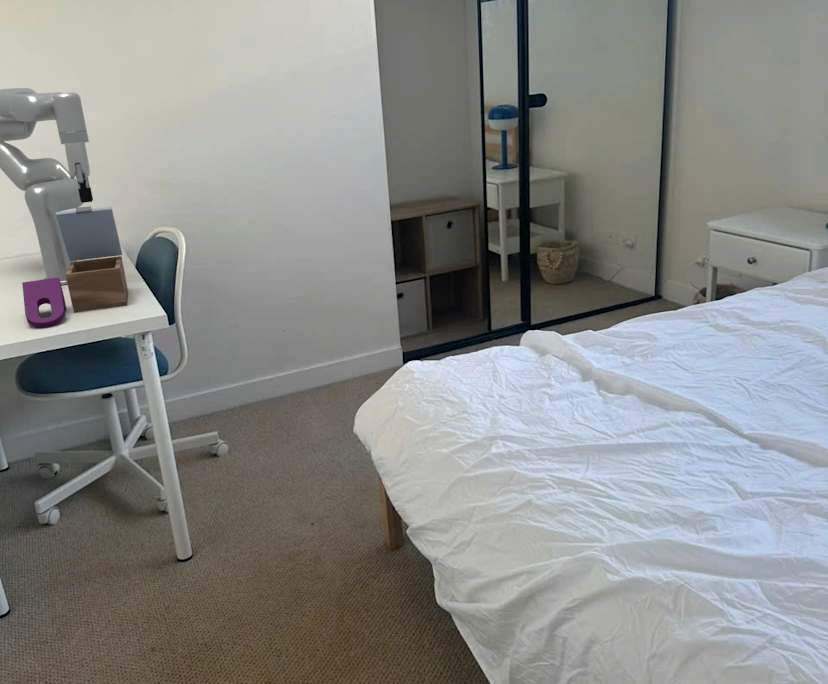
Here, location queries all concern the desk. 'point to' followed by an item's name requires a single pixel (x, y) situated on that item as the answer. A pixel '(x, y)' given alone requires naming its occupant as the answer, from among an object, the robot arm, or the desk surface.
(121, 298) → the storage box
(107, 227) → the lid
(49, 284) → the mounting bracket
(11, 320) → the desk surface
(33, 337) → the desk surface
